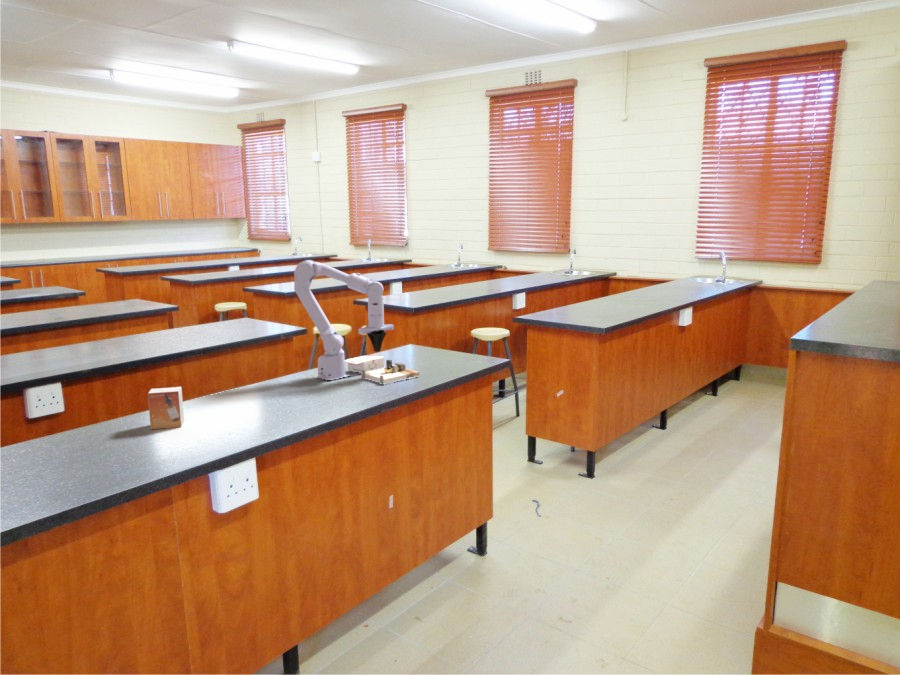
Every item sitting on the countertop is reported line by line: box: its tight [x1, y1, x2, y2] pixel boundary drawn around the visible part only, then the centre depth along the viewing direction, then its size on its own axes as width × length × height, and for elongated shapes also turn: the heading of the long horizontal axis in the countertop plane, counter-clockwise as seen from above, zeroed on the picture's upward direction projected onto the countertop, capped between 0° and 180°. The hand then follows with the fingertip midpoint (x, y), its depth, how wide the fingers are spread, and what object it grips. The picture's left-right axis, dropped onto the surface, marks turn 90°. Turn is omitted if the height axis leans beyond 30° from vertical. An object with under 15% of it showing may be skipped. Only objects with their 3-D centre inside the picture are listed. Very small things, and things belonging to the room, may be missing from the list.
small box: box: [147, 386, 185, 430], centre depth 168 cm, size 8×6×10 cm
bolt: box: [384, 359, 401, 373], centre depth 222 cm, size 8×2×4 cm, turn 133°
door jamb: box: [394, 362, 420, 378], centre depth 224 cm, size 5×14×4 cm, turn 43°
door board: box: [360, 364, 407, 384], centre depth 218 cm, size 11×14×4 cm
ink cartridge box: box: [345, 354, 385, 373], centre depth 231 cm, size 9×5×15 cm
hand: (377, 351), depth 222 cm, fingers closed
